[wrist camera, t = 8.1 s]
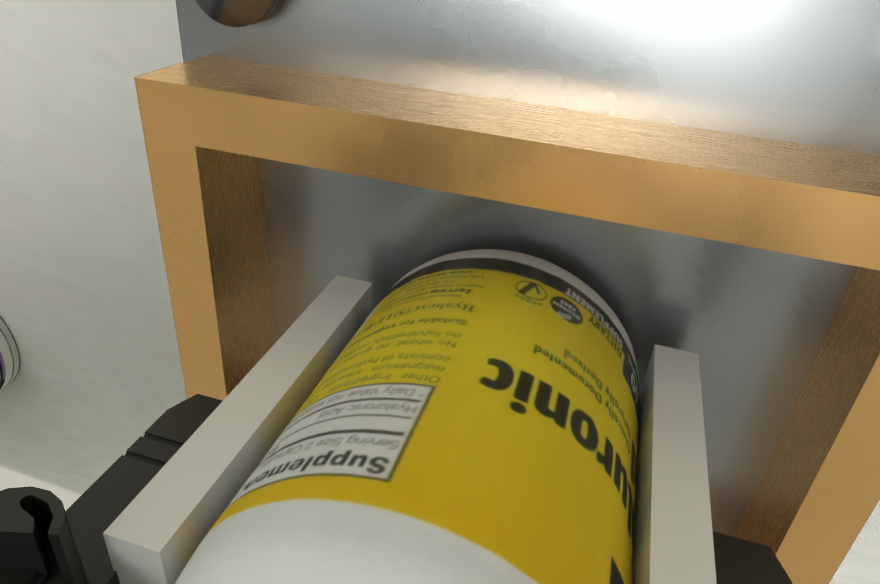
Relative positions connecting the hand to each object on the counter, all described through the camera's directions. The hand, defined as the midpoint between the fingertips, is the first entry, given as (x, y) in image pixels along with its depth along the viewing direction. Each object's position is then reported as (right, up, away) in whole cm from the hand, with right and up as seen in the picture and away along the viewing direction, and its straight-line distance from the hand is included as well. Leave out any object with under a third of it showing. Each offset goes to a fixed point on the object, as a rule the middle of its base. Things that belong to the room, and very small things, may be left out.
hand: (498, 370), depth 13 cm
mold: (+2, +3, +5) cm, 6 cm away
